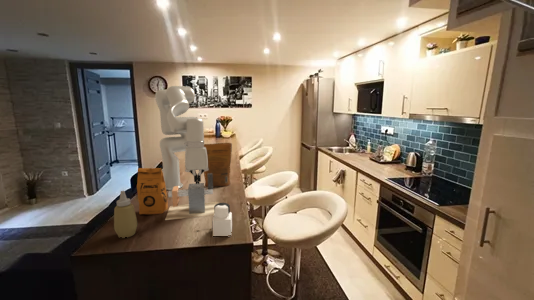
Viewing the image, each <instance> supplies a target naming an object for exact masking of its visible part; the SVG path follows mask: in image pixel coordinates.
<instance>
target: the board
mask: <svg viewBox="0 0 534 300" xmlns="http://www.w3.org/2000/svg"><path fill="white" fill-rule="evenodd" d="M218 203H220V202H219V201H213V202H211V201H210V202H209V201H208V202H205V212H204V213H194V214H189V203H188V204H178V207H173V205H170V206H168V207H169V208H168V209H167V213H166V215H165V216H166V217H165V219H164V220H165V221H169V220H179V219H181V220H182V219H190V218H200V217H211V216H214V206H215V205H216V204H218Z"/></svg>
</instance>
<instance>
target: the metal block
mask: <svg viewBox="0 0 534 300" xmlns="http://www.w3.org/2000/svg"><path fill="white" fill-rule="evenodd" d="M204 188H205V182H199V184H198V183H197V184H196V182H194V183H189V184H188V188H187V189H188V196H187V197H188V204H189V214H194V213H204V212H205V203H206V201H205V200H206V199H205V195H204Z"/></svg>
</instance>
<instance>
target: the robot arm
mask: <svg viewBox="0 0 534 300" xmlns="http://www.w3.org/2000/svg"><path fill="white" fill-rule="evenodd" d="M195 97H196V94H195V91H194V89H193V88H192V87H191V86H186V85H185V86H184V85H183V86H181V85H179V86H178V85H172V86H169V87H168V88H167V89H159V90H156V92H155V97H154V98H155V102H156V105H157V107H158V108H157V109H159V114H160V115H159V117H160V127H161V128H160V129H161V133H162V134H163V135H166V136H167V137H163V138H161V140H160V141H159V148H160V152H161V160H162V172H163V177H164V181H165V185H166V191H172V190H173V188H174V186H178V188H179V189H181V188H182V187H184V184H183V183H182V182H181V173H180V171H181V170H180V159H179V157H178V156H177V155H176V154H175V153H180V152H184V168H185V169H184V172H186V173H190V174H191V175H192V176H193V183H196V184H197V183H198V184H199V183H202V178H201V176H202V174H204V171H208V170H209V168H208V157H207V150H206V147H204V144H205V130H204V129H205V127H204V120H203V118H200V117H197V116H181V115H183V114H185V113H187V112H188V111H189V108H190V104H191V103H193V102H194V101H195ZM174 135H175V136H174ZM176 135H180V136H176ZM197 170H198V173H197Z"/></svg>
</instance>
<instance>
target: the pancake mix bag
mask: <svg viewBox="0 0 534 300" xmlns="http://www.w3.org/2000/svg"><path fill="white" fill-rule="evenodd" d="M204 147H206V150H207V157H208V168H209V170H208V171H204V172H203V176H204V180H205V182H204V187H206V188H208V176H207V173H213V188H215V187H217V188H218V187H228V186H231V178H230V175H231V163H232V152H233V151H232V150H233V143H231V142H218V143H217V142H216V143H204Z"/></svg>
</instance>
